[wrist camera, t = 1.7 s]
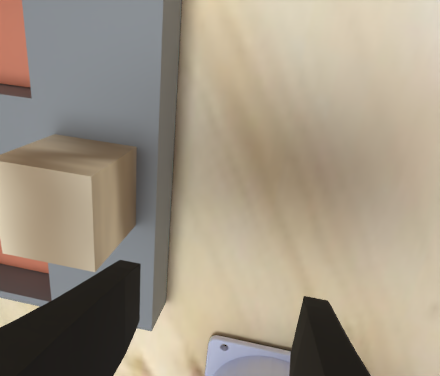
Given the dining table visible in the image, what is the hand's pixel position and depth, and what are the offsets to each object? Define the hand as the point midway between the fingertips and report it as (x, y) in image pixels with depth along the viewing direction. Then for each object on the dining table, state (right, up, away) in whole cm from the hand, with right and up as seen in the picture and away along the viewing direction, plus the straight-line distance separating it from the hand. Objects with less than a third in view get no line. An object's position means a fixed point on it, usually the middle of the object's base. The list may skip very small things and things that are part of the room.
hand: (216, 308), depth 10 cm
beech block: (-6, +4, +7) cm, 10 cm away
